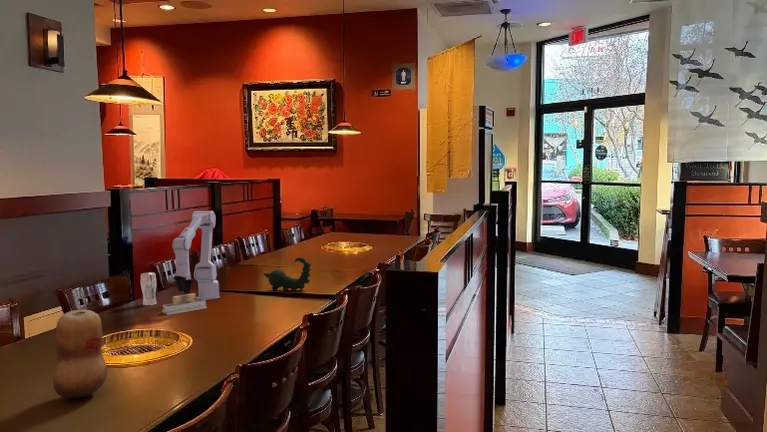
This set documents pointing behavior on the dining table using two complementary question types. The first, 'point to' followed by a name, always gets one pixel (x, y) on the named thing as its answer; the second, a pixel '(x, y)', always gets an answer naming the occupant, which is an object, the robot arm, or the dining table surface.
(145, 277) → the beer glass
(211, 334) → the dining table surface
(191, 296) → the door panel
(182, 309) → the door track
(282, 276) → the toy figurine
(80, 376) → the butternut squash
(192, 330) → the dining table surface
